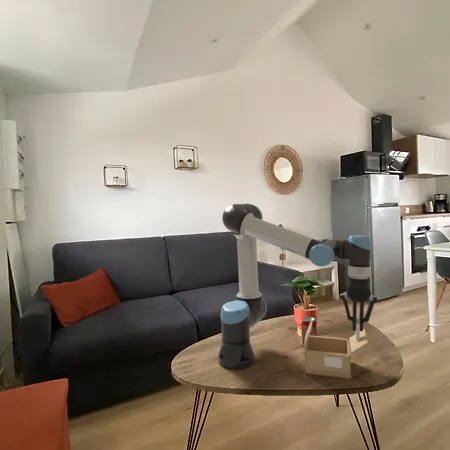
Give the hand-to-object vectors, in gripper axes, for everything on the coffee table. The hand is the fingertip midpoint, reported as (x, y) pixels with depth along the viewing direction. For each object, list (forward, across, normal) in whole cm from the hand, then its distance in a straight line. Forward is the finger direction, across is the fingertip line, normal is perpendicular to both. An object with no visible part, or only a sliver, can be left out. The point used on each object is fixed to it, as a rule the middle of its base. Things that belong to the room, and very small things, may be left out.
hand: (357, 338), depth 119 cm
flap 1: (0, -18, 0) cm, 18 cm away
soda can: (+13, -18, +19) cm, 30 cm away
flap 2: (0, 0, 0) cm, 0 cm away
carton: (+13, -10, 0) cm, 16 cm away
